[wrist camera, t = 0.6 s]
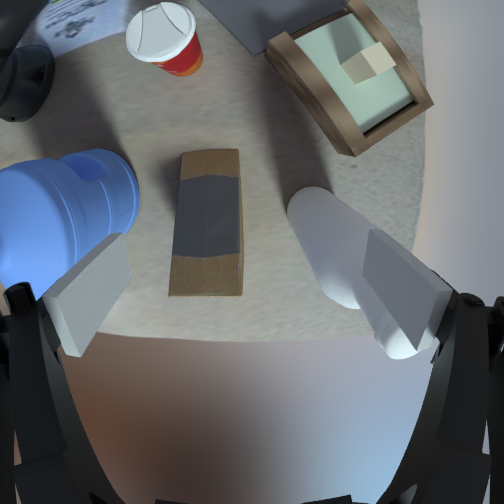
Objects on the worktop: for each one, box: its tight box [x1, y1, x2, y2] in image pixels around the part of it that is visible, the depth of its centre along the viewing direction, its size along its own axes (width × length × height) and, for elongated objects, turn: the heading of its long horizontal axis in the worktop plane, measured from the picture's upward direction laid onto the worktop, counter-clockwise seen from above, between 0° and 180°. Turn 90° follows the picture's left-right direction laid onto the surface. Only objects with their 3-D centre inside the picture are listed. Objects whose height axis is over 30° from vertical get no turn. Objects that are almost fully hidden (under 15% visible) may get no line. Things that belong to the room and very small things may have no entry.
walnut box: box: [265, 0, 434, 157], centre depth 31 cm, size 18×15×7 cm
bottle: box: [287, 186, 419, 359], centre depth 28 cm, size 8×8×30 cm
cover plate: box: [294, 13, 414, 133], centre depth 26 cm, size 15×13×8 cm
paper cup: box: [126, 2, 203, 76], centre depth 26 cm, size 8×8×14 cm
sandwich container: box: [168, 149, 244, 297], centre depth 34 cm, size 9×15×15 cm, turn 2°
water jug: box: [0, 149, 139, 301], centre depth 27 cm, size 16×16×28 cm
